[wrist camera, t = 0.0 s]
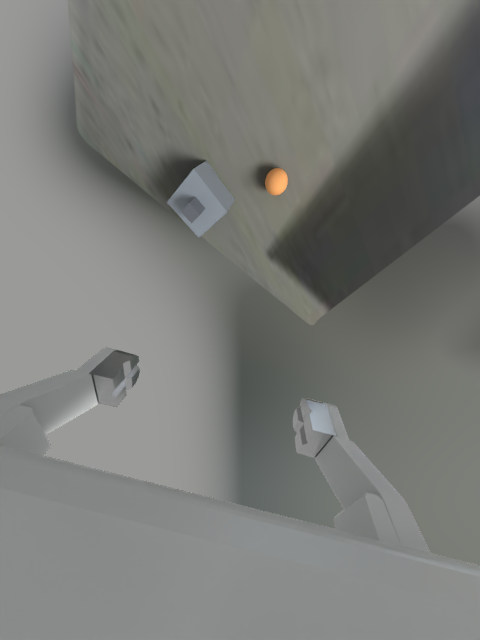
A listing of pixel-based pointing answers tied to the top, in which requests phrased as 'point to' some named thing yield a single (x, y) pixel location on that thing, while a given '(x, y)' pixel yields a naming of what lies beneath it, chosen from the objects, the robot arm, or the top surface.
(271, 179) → the ball
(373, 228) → the top surface
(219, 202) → the grey box with knob
